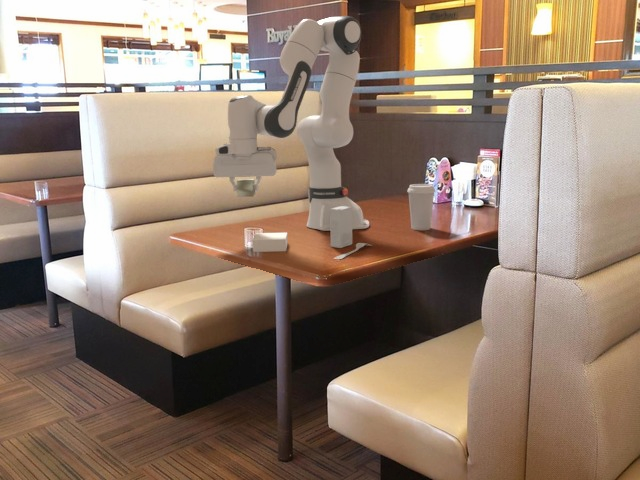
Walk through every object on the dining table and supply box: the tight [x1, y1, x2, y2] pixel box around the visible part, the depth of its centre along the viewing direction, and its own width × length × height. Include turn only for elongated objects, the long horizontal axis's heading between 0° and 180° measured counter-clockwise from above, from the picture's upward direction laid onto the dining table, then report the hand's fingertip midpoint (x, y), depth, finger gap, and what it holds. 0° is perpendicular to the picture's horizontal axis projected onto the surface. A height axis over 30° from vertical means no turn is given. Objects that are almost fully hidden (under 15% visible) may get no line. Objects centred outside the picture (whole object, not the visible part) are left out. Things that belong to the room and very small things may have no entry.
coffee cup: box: [406, 183, 436, 231], centre depth 218 cm, size 10×10×15 cm
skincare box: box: [329, 206, 353, 249], centre depth 196 cm, size 6×4×12 cm
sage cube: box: [236, 178, 256, 198], centre depth 206 cm, size 5×5×5 cm
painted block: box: [251, 232, 288, 253], centre depth 197 cm, size 10×10×4 cm
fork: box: [333, 242, 373, 260], centre depth 189 cm, size 3×21×3 cm, turn 147°
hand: (246, 190), depth 206 cm, fingers closed on sage cube, 5 cm apart
